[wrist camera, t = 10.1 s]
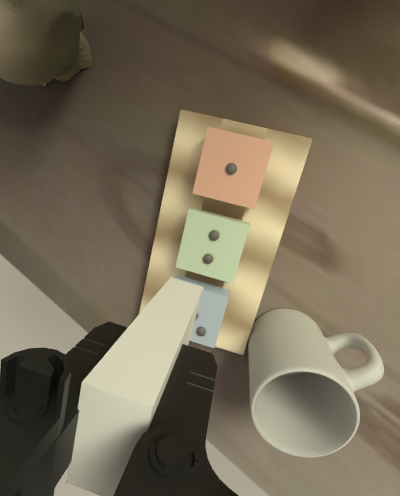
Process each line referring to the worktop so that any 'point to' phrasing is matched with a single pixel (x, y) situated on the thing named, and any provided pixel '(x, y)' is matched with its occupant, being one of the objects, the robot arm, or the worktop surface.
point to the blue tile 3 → (208, 313)
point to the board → (261, 218)
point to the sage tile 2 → (212, 244)
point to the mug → (305, 383)
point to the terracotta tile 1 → (232, 167)
